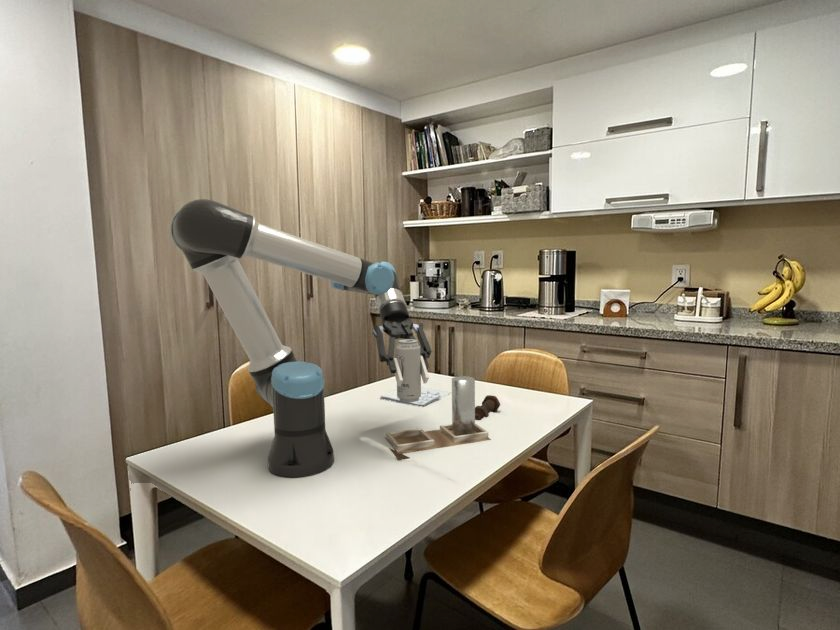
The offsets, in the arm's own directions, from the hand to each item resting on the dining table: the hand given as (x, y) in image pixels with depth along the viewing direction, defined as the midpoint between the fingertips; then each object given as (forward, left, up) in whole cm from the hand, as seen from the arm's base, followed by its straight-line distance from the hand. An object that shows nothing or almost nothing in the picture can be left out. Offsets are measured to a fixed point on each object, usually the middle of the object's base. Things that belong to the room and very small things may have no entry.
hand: (413, 381), depth 116 cm
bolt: (+33, +7, -19) cm, 39 cm away
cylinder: (+15, -2, -17) cm, 23 cm away
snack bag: (+33, +39, -19) cm, 55 cm away
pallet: (+8, +1, -18) cm, 20 cm away
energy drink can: (+1, +3, -6) cm, 7 cm away
